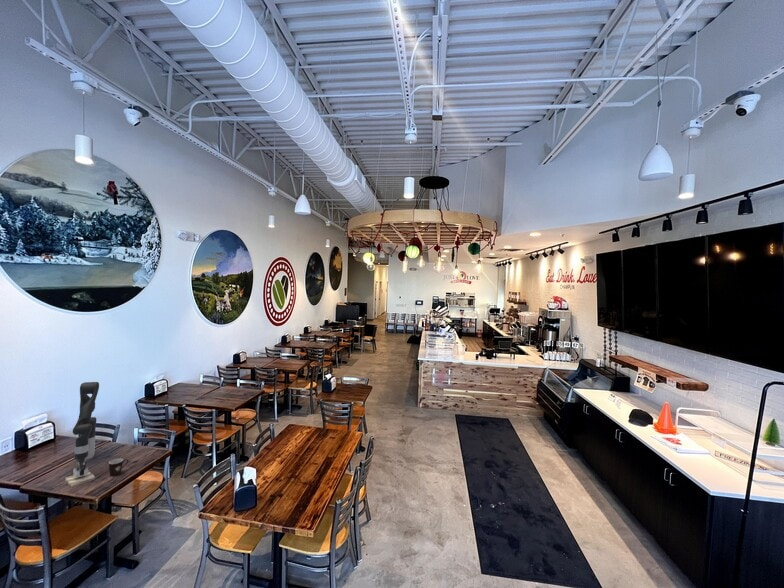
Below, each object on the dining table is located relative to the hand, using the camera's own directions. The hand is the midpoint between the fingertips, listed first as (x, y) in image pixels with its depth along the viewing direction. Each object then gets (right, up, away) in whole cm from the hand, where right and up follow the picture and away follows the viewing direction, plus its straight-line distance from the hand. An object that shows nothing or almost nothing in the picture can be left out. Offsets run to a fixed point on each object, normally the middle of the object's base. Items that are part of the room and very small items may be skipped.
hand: (80, 473), depth 243 cm
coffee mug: (+20, -5, +9) cm, 23 cm away
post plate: (0, -4, 0) cm, 4 cm away
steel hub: (0, -1, 0) cm, 1 cm away
